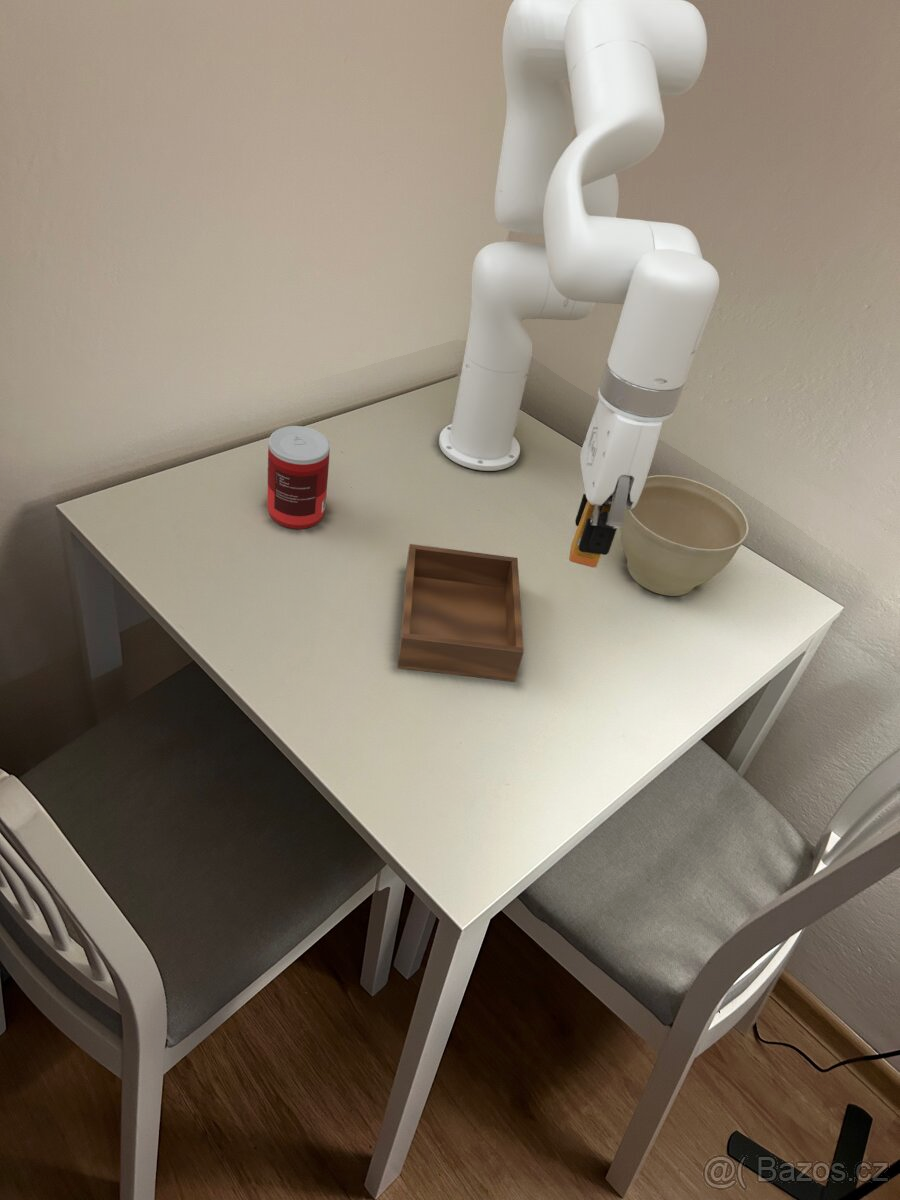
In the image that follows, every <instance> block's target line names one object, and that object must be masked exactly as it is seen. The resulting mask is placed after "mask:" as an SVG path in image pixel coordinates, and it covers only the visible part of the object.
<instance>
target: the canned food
mask: <svg viewBox="0 0 900 1200" xmlns="http://www.w3.org/2000/svg"><path fill="white" fill-rule="evenodd" d="M267 447H268V448H267V449H268V450H267V491H266V492H267V494H266V495H267V497H266V499H267V500H266V501H267V502H266V503H267V504H266V506H267V510H268V514H269V516H270V518H271V519H272V520H273V521H274V522H275V523H277V524H279V525H280V526H283V527H286V528H288V529H293V530H294V529H295V530H302V529H309V528H311V527H314V526H316V525H318V524H319V523H320V522H321V521H322V519H323V517H324V515H325V512H326V504H327V494H328V493H327V491H328V480H329V479H328V478H329V468H330V467H329V465H330V451H331V450H330V449H331V448H330V447H331V446H330V441H329V439H328V438H327V436H326V435H325V434H324V433H322V432H320V431H318V430H316V429H314V428H311V427H308V426H304V425H303V426H302V425H290V426H289V425H288V426H283V427H280V428H278V429H276V430H275V431H273V432H272V433H271V434H270V436H269V439H268V445H267Z"/></svg>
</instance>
